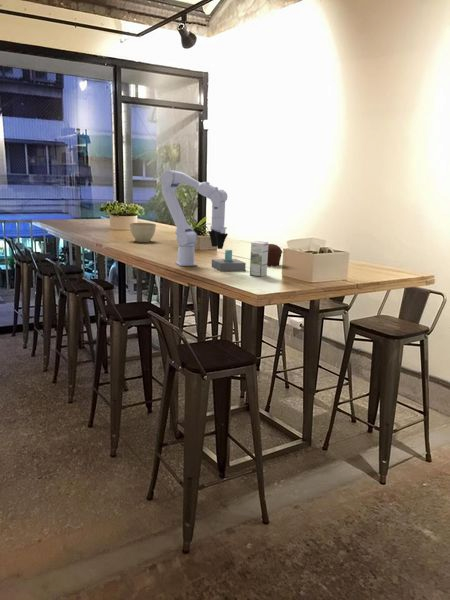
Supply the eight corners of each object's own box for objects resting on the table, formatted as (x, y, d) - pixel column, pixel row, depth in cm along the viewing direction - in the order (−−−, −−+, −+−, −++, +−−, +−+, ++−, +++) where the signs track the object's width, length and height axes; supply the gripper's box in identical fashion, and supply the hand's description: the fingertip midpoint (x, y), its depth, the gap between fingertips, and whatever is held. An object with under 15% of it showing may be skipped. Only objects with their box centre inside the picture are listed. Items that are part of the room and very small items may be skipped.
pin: (223, 267, 239) (224, 249, 237) (229, 266, 240) (230, 249, 238) (226, 268, 236) (226, 250, 234) (232, 268, 237) (233, 250, 235)
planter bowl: (125, 241, 320) (125, 223, 318) (136, 239, 335) (136, 222, 333) (149, 243, 316) (149, 225, 313) (159, 241, 331) (160, 223, 328)
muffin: (255, 262, 258) (256, 242, 256) (276, 262, 261) (278, 242, 259) (263, 266, 247) (264, 245, 245) (285, 266, 250) (286, 246, 248)
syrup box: (267, 275, 225) (269, 241, 222) (261, 277, 220) (262, 243, 217) (255, 273, 228) (257, 240, 225) (249, 275, 223) (250, 241, 220)
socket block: (211, 266, 242) (211, 259, 241) (235, 266, 246) (235, 258, 245) (220, 271, 231) (220, 263, 230) (245, 270, 235) (245, 262, 234)
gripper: (232, 218, 228) (231, 249, 231) (221, 216, 241) (219, 245, 244) (217, 218, 225) (216, 249, 228) (206, 216, 239) (205, 245, 242)
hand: (217, 247), depth 236 cm, fingers open, 7 cm apart
